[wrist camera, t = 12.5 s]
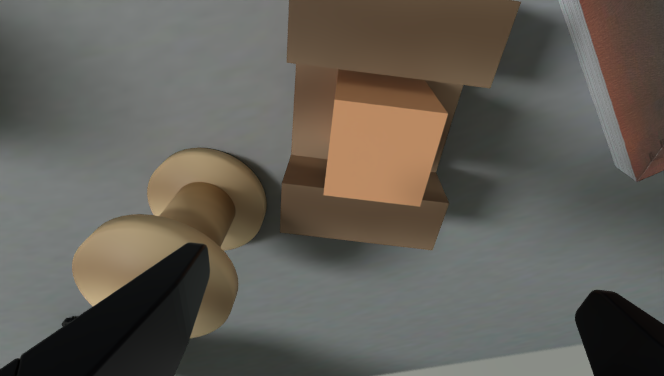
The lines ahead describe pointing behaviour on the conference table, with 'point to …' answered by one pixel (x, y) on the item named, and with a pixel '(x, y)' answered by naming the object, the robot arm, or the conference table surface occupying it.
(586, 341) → the robot arm
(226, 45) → the conference table surface
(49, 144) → the conference table surface
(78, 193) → the conference table surface
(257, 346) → the conference table surface
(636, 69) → the picture frame
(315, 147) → the notch board
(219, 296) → the spool
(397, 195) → the light brown wooden block
